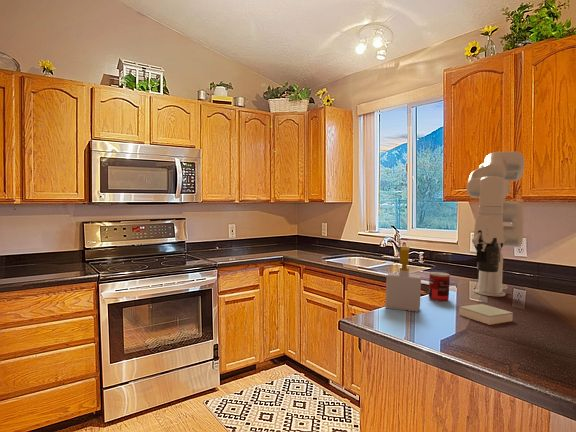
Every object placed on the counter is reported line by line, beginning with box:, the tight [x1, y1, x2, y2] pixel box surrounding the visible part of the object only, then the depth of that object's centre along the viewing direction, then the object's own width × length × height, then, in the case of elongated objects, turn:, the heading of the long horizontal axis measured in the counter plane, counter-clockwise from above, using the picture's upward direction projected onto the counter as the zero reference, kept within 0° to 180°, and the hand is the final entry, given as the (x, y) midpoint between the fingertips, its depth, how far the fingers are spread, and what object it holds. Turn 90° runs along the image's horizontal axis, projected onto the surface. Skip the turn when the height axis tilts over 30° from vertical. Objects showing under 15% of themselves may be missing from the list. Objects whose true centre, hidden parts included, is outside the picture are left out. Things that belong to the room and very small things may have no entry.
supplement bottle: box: [476, 238, 501, 272], centre depth 135 cm, size 7×7×12 cm
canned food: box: [428, 271, 451, 302], centre depth 162 cm, size 8×8×11 cm
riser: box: [458, 303, 514, 325], centre depth 136 cm, size 12×12×3 cm
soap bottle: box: [385, 246, 422, 313], centre depth 145 cm, size 12×7×23 cm, turn 68°
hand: (488, 261), depth 135 cm, fingers closed on supplement bottle, 6 cm apart
